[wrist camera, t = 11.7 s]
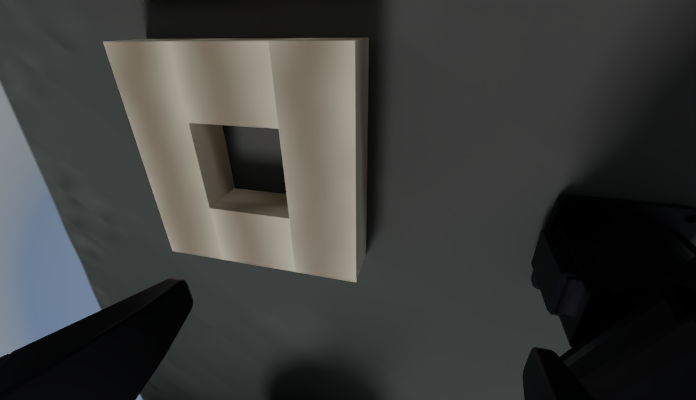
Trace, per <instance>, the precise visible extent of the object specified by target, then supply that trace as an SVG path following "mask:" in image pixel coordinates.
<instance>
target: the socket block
mask: <svg viewBox="0 0 696 400" xmlns="http://www.w3.org/2000/svg"><path fill="white" fill-rule="evenodd" d="M103 43H104V46H105V49H106V52H107V55H108V58H109V61H110V64H111V67H112V70H113V73H114V76H115V79H116V82H117V85H118V88H119V91H120V94H121V97H122V100H123V103H124V106H125V109H126V112H127V115H128V118H129V121H130V124H131V127H132V130H133V133H134V136H135V139H136V142H137V145H138V148H139V151H140V155H141V158H142V161H143V164H144V167H145V170H146V173H147V176H148V179H149V182H150V185H151V188H152V191H153V194H154V197H155V200H156V203H157V206H158V209H159V212H160V215H161V218H162V221H163V224H164V227H165V230H166V233H167V236H168V239H169V242H170V245H171V248H172V251H176V252H182V253H188V254H194V255H199V256H205V257H211V258H217V259H223V260H229V261H234V262H240V263H246V264H252V265H258V266H264V267H270V268H275V269H281V270H287V271H293V272H299V273H305V274H310V275H316V276H322V277H328V278H334V279H340V280H345V281H351V282H357V279H358V276H359V273H360V270H361V267H362V265H363V262H364V259H365V256H366V222H367V146H368V69H369V38H208V39H136V40H120V41H104V42H103ZM222 125H229V126H244V127H260V128H276V129H279V136H280V144H281V153H282V161H283V170H284V178H285V187H286V194H281V193H273V192H264V191H255V190H246V189H237V188H235V186H234V181H233V176H232V171H231V166H230V161H229V156H228V151H227V146H226V141H225V136H224V131H223V126H222Z"/></svg>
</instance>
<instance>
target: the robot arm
mask: <svg viewBox="0 0 696 400" xmlns="http://www.w3.org/2000/svg"><path fill="white" fill-rule="evenodd" d="M566 202H571V204H570V205H569V206H568V207H563V205H564V204H565V203H566ZM690 214H692V216H691V217H690V218H687V219H684V218H685V217H686V216H687V215H690ZM695 232H696V208H695V207H692V206H683V205H673V204H662V203H651V202H640V201H630V200H619V199H608V198H598V197H587V196H576V195H563V196H561V197H559V198H558V199H557V201H556V203H555V206H554V209H553V212H552V215H551V218H550V221H549V224H548V227H547V228H545V229H543V230H542V231H541V234H540V237H539V240H538V243H537V246H536V250H535V253H534V256H533V259H532V262H531V264H532V267H533V270H534V271H533V274H532V277H531V281H532V284H533V286H534V287H535V288H536V289H540V290H541V293H542V296H543V299H544V302H545V305H546V308H547V310H548V311H549V312H550V314H551V315H557V316H559V318H560V320H561V323H562V326H563V328H564V331H565V334H566V336H567V339H568V342H569V344H570V346H571V347H573V348H571V349H570V350H568V351H567V352H566V353H564V354H563V355H562V356H560V357H559V356H558V355H557V354H556V353H555V352H554V351H552V350H548V349H543V348H537V347H534V348H532V350H531V351H530V354H529V357H528V359H527V362H526V365H525V367H524V370H523V387H524V398H525V400H696V246H695V245H694V244H693V243H692V242H691V239H692V237H693V236H694V234H695ZM192 306H193V299H192V295H191V292H190V289H189V286H188V283H187V282H186V281H185V280H183V279H178V278H169V279H167V280H165V281H163V282H161V283H159V284H156V285H154V286H152V287H150V288H148V289H146V290H144V291H141V292H139V293H137V294H135V295H133V296H131V297H129V298H126V299H124V300H122V301H120V302H118V303H116V304H114V305H112V306H109V307H107V308H105V309H103V310H101V311H99V312H97V313H94V314H92V315H90V316H88V317H86V318H84V319H82V320H80V321H77V322H75V323H73V324H71V325H69V326H67V327H64V328H62V329H60V330H58V331H56V332H54V333H52V334H50V335H47V336H45V337H43V338H41V339H39V340H37V341H35V342H32V343H30V344H28V345H26V346H24V347H22V348H20V349H17V350H15V351H13V352H12V353H11V354H7V355H5V356H3V357H0V400H135V399H136V398H137V396H138V395H139V394H140V392H141V391H142V389H143V388H144V386H145V385H146V383H147V382H148V381H149V379H150V378H151V376H152V375H153V373H154V372H155V370H156V369H157V367H158V366H159V364H160V363H161V361H162V360H163V358H164V357H165V355H166V353H167V352H168V350H169V348H170V346H171V345H172V343H173V341H174V339H175V337H176V336H177V334H178V332H179V330H180V329H181V327H182V325H183V323H184V322H185V320H186V318H187V316H188V314H189V313H190V311H191V309H192Z"/></svg>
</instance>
